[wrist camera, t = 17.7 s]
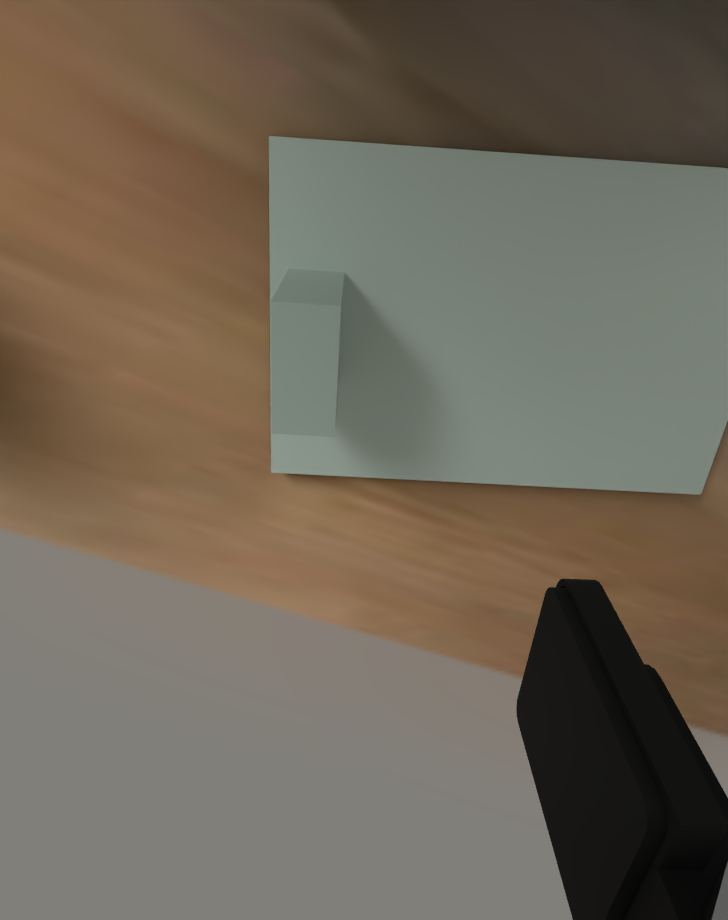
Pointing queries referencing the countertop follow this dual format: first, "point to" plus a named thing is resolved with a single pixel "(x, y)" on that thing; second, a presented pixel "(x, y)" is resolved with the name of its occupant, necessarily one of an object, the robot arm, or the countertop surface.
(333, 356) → the lid
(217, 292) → the countertop surface
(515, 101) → the countertop surface
